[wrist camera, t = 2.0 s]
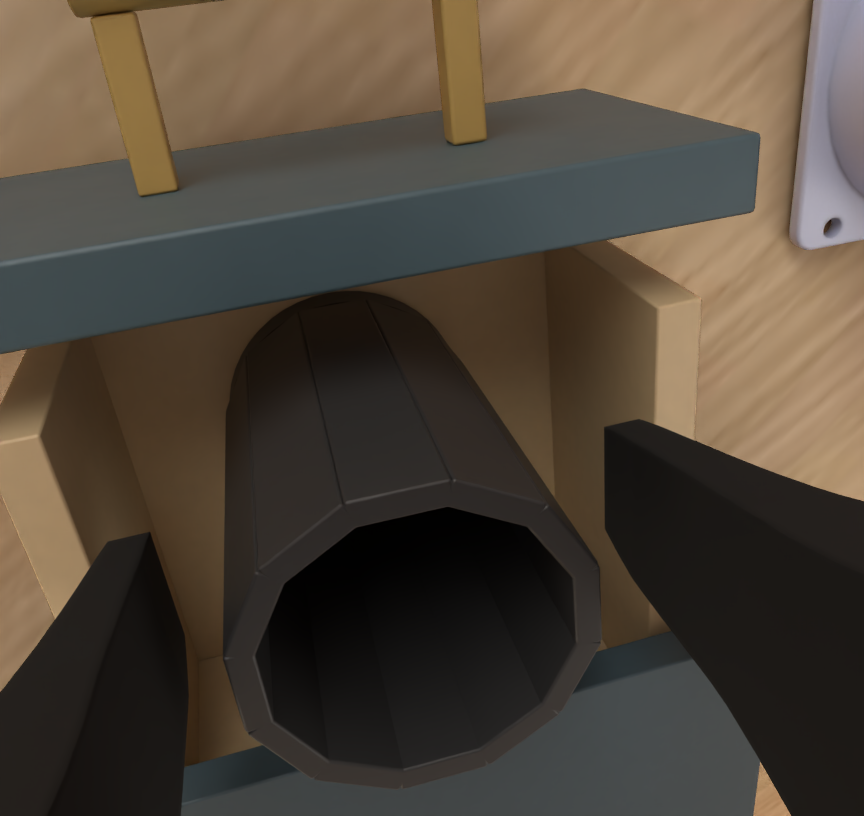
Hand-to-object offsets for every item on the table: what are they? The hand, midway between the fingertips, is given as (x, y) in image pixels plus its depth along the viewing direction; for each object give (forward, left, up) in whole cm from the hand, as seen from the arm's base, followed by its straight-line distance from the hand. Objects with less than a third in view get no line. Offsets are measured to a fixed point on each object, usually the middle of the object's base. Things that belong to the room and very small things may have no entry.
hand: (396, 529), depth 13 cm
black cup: (0, 0, -6) cm, 6 cm away
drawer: (0, -1, -7) cm, 7 cm away
